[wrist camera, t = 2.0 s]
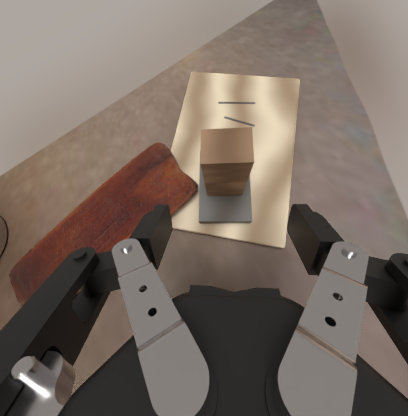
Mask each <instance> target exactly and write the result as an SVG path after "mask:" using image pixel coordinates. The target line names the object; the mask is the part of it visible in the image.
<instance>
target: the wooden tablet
mask: <svg viewBox="0 0 408 416" xmlns="http://www.w3.org/2000/svg"><path fill="white" fill-rule="evenodd" d="M197 190H198V184H197V183H196V182H195V181H194V180H193V179H192V178H191V177H190V176H188V175H187V174H185V173H184V172H183V171H182V170H181V169H180V168H179V166H178V163H177V161H176V159H175V157H174V155H173V154H172V152H171V151H170V150H169V148H168V147H166V145H164V144H162V143H155V144H153V145H152V146H150V147H149V148H147V149H146V150H145V151H143V152H142V153H140V154H139V155H138V156H137V157H135V158H134V159H132V160H131V161H130V162H129V163H128V164H126V165H125V166H124V167H123V168H122V169H121V170H119V171H118V172H117V173H116V174H114V175H113V176H112V177H111V178H110V179H109V180H107V181H106V182H105V183H104V184H103V185H101V186H100V187H99V188H98V189H97V190H96V191H94V192H93V193H92V194H91V195H90V196H89V197H88V198H87V199H86V200H85V201H83V202H82V203H81V204H80V205H79V206H78V207H77V208H76V209H75V210H74V211H72V212H71V213H70V214H69V215H68V216H67V217H66V218H65V219H64V220H63V221H62V222H60V223H59V224H58V225H57V226H56V227H55V228H54V229H53V230H52V231H51V232H49V233H48V234H47V235H46V236H45V237H44V238H43V239H42V240H41V241H40V242H38V243H37V244H36V245H35V246H34V248H33V249H31V250H30V251H29V252H28V253H27V254H26V255H25V256H24V257H22V259H21V260H20V261H19V262H18V263H17V264H16V265H15V266H14V267H13V269H12V270H11V272H10V274H9V277H10V281H11V284H12V286H13V289H14V291H15V294H16V297H17V300H18V302H20V303H22V304H21V307H22V306H23V305H24V304H25V303H26V302H27V301H28V300H29V299H30V297H31V296H32V295H33V294H34V293H35V292H36V291H37V290H38V288H39V287H40V286H41V285H42V284H43V283H44V282H45V281H46V279H47V278H48V277H49V276H50V275H51V274H52V273H53V272H54V270H55V269H56V268H57V267H58V266H59V265H60V264H61V263H62V261H63V260H64V259H65V258H66V257H67V256H68V255H69V254H70V253H72V252H73V251H75V250H77V249H80V248H83V247H92V248H94V249H95V251H96V253H102V252H106V251H111V250H112V249H113V247H114V246H115V245H116V244H117V243H118V242H120V241H122V240H125V239H128V238H129V237H130V235H131V234H132V232H133V231H134V229H135V228H136V226H138V223H139V222H140V220H141V219H142V217H143V216H144V215H145V214H147V213H148V212H152V211H153V209H154V208H155V206H156V205H157V204H168V205H169V209H170V214H171V215H172V214H173V213H174V212H176V211H177V210H178V209H179V208H181V207H182V206H183V205H184V204H185V203H186V202H187V201H188V200H189V199H190V198H191V197H192V196H193V195H194V194H195V192H196V191H197ZM80 291H81V289H80V290H79V291H78V293H79V292H80ZM78 293H77V294H78ZM77 294H76V295H77Z"/></svg>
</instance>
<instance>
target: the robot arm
mask: <svg viewBox="0 0 408 416" xmlns="http://www.w3.org/2000/svg"><path fill="white" fill-rule="evenodd" d="M287 229H288V234H289V236H290V238H291V240H292V242H293V244H294V246H295V248H296V250H297V252H298V254H299V256H300V258H301V260H302V262H303V264H304V266H305V268H306V270H307V272H308V274H309V275H318V279H317V281H316V284H315V286H314V288H313V291H312V293H311V295H310V298H309V300H308V302H307V304H306V307H305V308H304V307H302V306H301V305H299V304H298V303H296V302H294V301H292V300H290V299H288V298H285V297H282V296H281V295H280V291H279V289H274V288H253V289H248V290H243V291H238V292H231V291H227V290H224V289H220V288H216V287H213V286H195V285H190V291H189V292H188V293H184V294H181V295H179V296H177V297H175V298H173V299H172V300H171V298H170V296H169V294H168V292H167V290H166V288H165V287H164V285H163V283H162V281H161V279H160V277H159V275H158V273H157V271H156V270H158V267H159V265H160V262H161V259H162V257H163V254H164V251H165V248H166V246H167V243H168V240H169V238H170V235H171V232H172V220H171V214H170V209H169V205H168V204H157V205H156V206H155V208H154V209H153V211H152V212H148V213H147V214H145V215H144V216H143V217H142V219H141V220H140V222H139V223H138V226H136V228H135V229H134V231H133V232H132V234H131V235H130V237H129V238H128V239H125V240H122V241H120V242H118V243H117V244H116V245H115V246H114V247H113V249H112V250H111V251H106V252H102V253H96V251H95V249H94V248H92V247H83V248H80V249H77V250H75V251H73V252H72V253H70V254H69V255H68V256H67V257H66V258H65V259H64V260H63V261H62V263H61V264H60V265H59V266H58V267H57V268H56V269H55V270H54V272H53V273H52V274H51V275H50V276H49V277H48V278H47V279H46V281H45V282H44V283H43V284H42V285H41V286H40V287H39V288H38V290H37V291H36V292H35V293H34V294H33V295H32V296H31V297H30V299H29V300H28V301H27V302H26V303H25V304H24V305H23V306H22V307H21V309H20V310H19V311H18V312H17V313H16V314H15V315H14V316H13V318H12V319H11V320H10V321H9V322H8V323H7V324H6V325H5V327H4V328H3V329H2V330H1V331H0V416H408V399H407V398H406V397H405V396H404V395H403V394H402V393H401V392H399V391H398V390H397V389H396V388H395V387H394V386H393V385H392V384H390V383H389V382H388V381H387V380H386V379H385V378H384V377H382V376H381V375H380V374H379V373H378V372H377V371H376V370H375V369H373V368H372V367H371V366H370V365H369V364H368V363H367V362H366V361H364V360H363V359H362V358H361V357H360V356H359V355H358V354H357V350H358V344H359V338H360V331H361V325H362V319H363V313H364V307H365V302H368V304H369V305H370V307H371V308H372V310H373V311H374V313H375V314H376V316H377V318H378V319H379V321H380V322H381V324H382V325H383V327H384V328H385V330H386V331H387V333H388V335H389V336H390V338H391V339H392V341H393V342H394V344H395V345H396V347H397V348H398V350H399V352H400V353H401V355H402V356H403V358H404V359H405V361H406V362H407V364H408V254H403V253H396V254H393V255H392V256H391V257H390V259H389V260H383V259H379V258H374V257H370V256H368V254H367V253H366V251H364V250H363V249H362V248H361V247H359V246H357V245H355V244H352V243H349V242H345V241H344V240H343V239H342V238H341V237H340V236H339V234H338V233H337V232H336V231H335V230H334V229H333V228H332V226H331V225H330V224H329V223H328V222H327V220H326V219H325V218H324V217H323V216H322V215H320V214H318V213H317V212H313V211H312V210H311V209H310V207H309V206H308V205H307V204H293V205H292V207H291V212H290V216H289V220H288V226H287ZM6 238H7V228H6V225H5V222H4V221H3V219H2V218H1V217H0V255H1V253H2V251H3V249H4V246H5V243H6ZM80 289H81V291H80V292H79V294H78V295H77V297H76V298H75V300H74V301H73V299H74V297H75V296H76V294H77V293H78V291H79V290H80ZM118 289H121V291H122V295H123V298H124V302H125V306H126V309H127V313H128V316H129V320H130V323H131V327H132V331H133V334H134V335H133V336H132V337H131V338H130V339H129V340H128V341H127V342H126V343H125V344H124V345H123V346H122V347H121V348H120V349H119V350H118V351H116V352H115V353H114V354H113V355H112V356H111V357H110V358H109V359H108V360H107V361H106V362H105V363H104V364H103V365H102V366H101V367H100V368H99V369H98V370H97V371H96V372H95V373H94V374H93V375H91V376H90V377H89V378H88V379H87V380H86V381H85V382H84V383H83V384H82V385H81V386H80V387H79V388H78V389H77V390H76V391H75V392H74V393H73V394H72V396H71V393H72V387H73V384H74V381H75V370H74V368H73V365H74V363H75V361H76V359H77V357H78V355H79V353H80V351H81V349H82V347H83V345H84V343H85V341H86V339H87V337H88V335H89V333H90V331H91V329H92V327H93V325H94V323H95V321H96V319H97V317H98V315H99V313H100V311H101V309H102V308H103V306H104V304H105V302H106V300H107V298H108V296H109V294H110V292H111V291H114V290H118ZM70 396H71V397H70Z"/></svg>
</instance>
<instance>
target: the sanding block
mask: <svg viewBox="0 0 408 416" xmlns="http://www.w3.org/2000/svg"><path fill="white" fill-rule="evenodd" d="M253 164H254V150H253V134H252V127H243V128H222V129H202V130H201V150H200V179H199V223H200V224H204V223H251V222H252V206H251V188H250V172H251V170H252V167H253Z"/></svg>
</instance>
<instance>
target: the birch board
mask: <svg viewBox="0 0 408 416" xmlns="http://www.w3.org/2000/svg"><path fill="white" fill-rule="evenodd" d="M299 85H300V79H292V78H277V77H262V76H248V75H233V74H218V73H203V72H191V75H190V79H189V83H188V87H187V91H186V95H185V98H184V102H183V106H182V110H181V114H180V118H179V122H178V126H177V130H176V133H175V137H174V141H173V145H172V149H171V152H172V154H173V155H174V157H175V159H176V161H177V163H178V166H179V168H180V169H181V170H182V171H183V172H184V173H185V174H187V175H188V176H190V177H191V178H192V179H193V180H194V181H195V182H196V183H197V184H198V190H197V191H196V192H195V194H194V195H193V196H192V197H191V198H190V199H189V200H188V201H187V202H186V203H185V204H184V205H183V206H182V207H181V208H179V209H178V210H177V211H176V212H174V213H173V214H172V215H171V220H172V229H178V230H183V231H189V232H194V233H200V234H205V235H210V236H216V237H221V238H227V239H232V240H238V241H243V242H248V243H254V244H259V245H265V246H270V247H276V248H285V242H286V231H287V220H288V208H289V197H290V186H291V175H292V163H293V152H294V141H295V130H296V119H297V107H298V96H299ZM243 127H252V134H253V150H254V164H253V167H252V170H251V172H250V188H251V206H252V222H251V223H204V224H200V223H199V179H200V150H201V130H202V129H222V128H243Z"/></svg>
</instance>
